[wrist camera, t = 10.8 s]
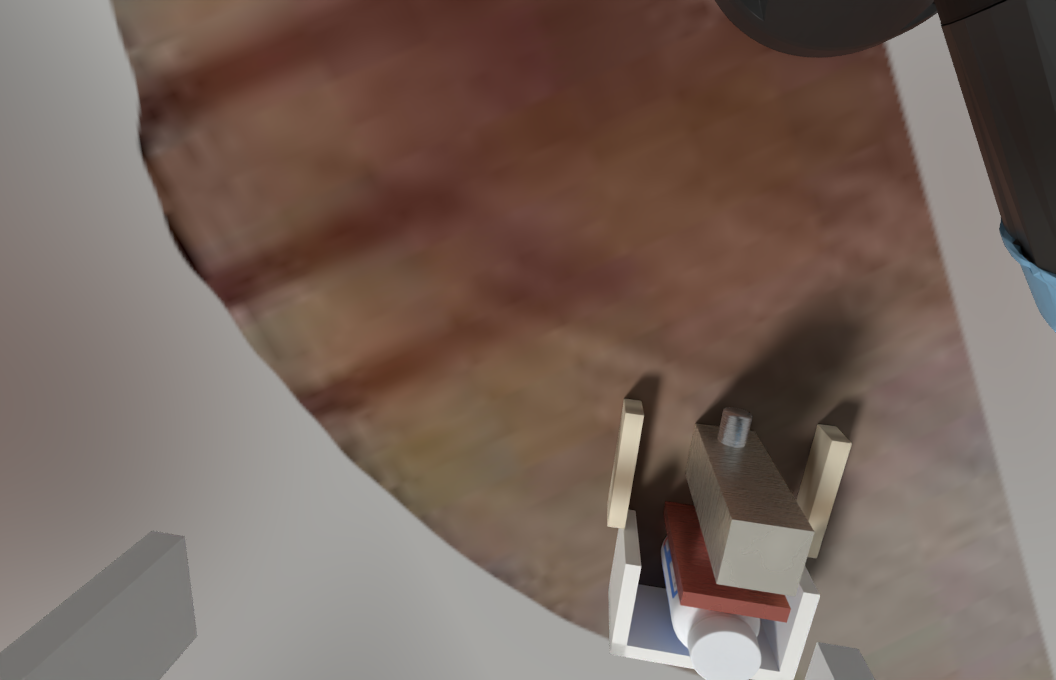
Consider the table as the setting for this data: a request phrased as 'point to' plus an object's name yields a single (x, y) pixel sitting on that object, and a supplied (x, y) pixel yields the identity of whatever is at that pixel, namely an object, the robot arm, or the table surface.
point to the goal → (648, 626)
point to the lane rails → (813, 491)
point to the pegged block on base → (736, 526)
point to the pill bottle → (713, 634)
